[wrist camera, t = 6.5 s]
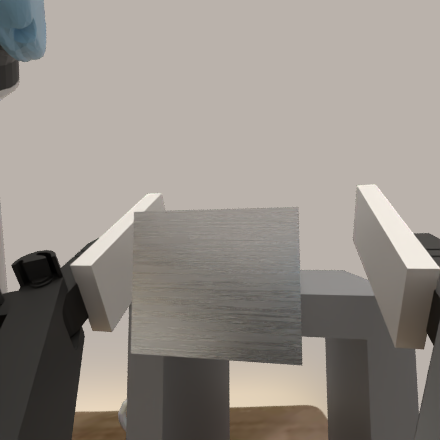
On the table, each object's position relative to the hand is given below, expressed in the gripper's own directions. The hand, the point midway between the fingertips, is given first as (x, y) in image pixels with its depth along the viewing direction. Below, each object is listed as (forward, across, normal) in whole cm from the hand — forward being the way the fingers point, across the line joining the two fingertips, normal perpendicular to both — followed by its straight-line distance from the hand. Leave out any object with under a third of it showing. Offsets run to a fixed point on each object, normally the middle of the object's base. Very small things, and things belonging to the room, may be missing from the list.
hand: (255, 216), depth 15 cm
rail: (+2, 0, -5) cm, 6 cm away
